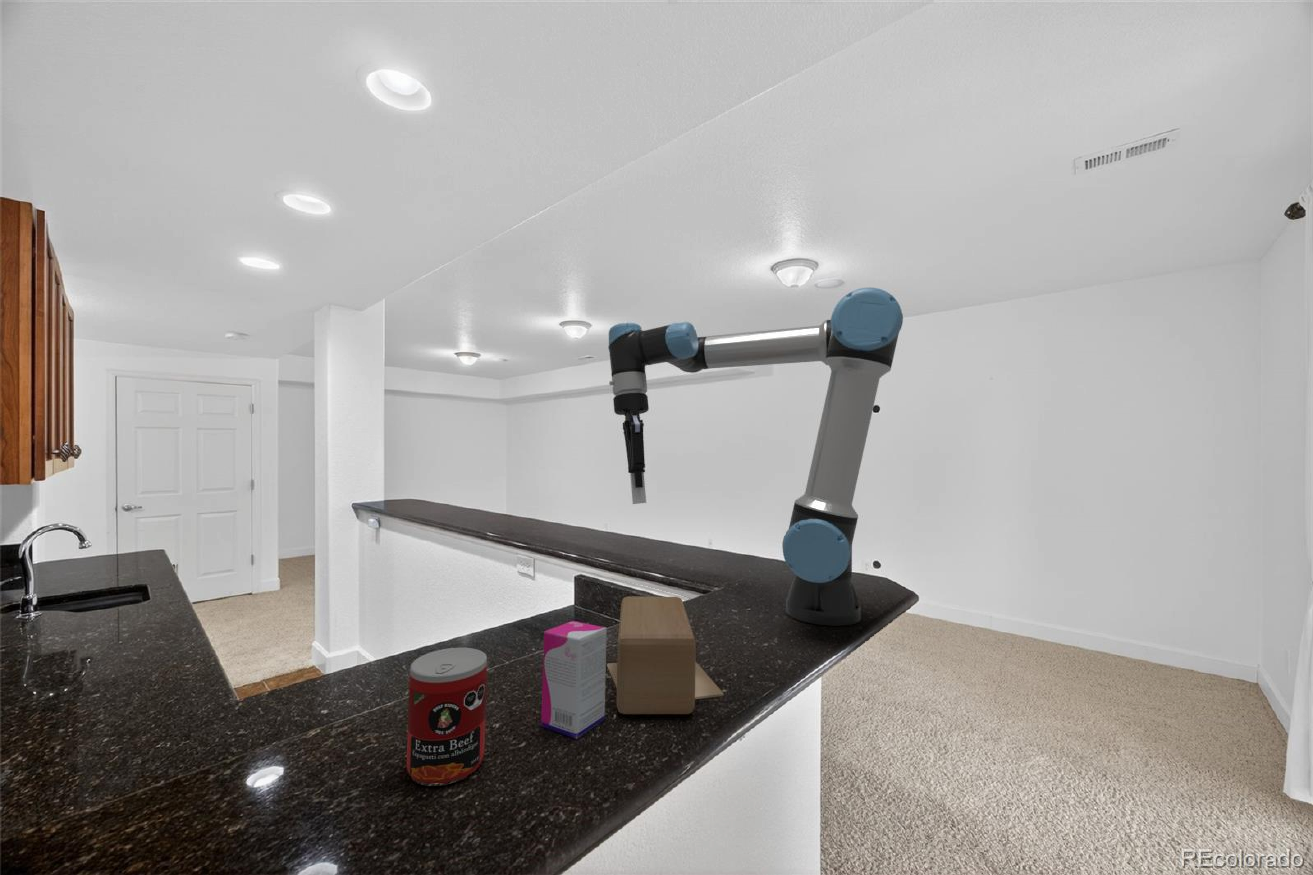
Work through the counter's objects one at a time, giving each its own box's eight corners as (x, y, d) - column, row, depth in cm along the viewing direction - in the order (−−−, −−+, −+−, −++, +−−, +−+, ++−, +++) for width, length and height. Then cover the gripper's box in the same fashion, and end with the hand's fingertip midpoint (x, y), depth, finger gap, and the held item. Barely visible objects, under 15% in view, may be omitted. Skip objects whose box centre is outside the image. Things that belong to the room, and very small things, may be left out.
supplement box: (606, 718, 66) (608, 626, 67) (576, 740, 61) (578, 640, 62) (570, 707, 69) (572, 618, 70) (539, 726, 64) (541, 631, 64)
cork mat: (691, 658, 87) (691, 656, 87) (723, 696, 73) (723, 693, 73) (606, 665, 83) (606, 663, 83) (624, 706, 69) (624, 704, 69)
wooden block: (681, 656, 86) (695, 717, 66) (620, 656, 86) (616, 717, 66) (682, 595, 87) (696, 637, 67) (621, 594, 86) (617, 636, 66)
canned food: (399, 795, 51) (403, 679, 51) (413, 750, 58) (416, 650, 59) (483, 782, 53) (486, 671, 53) (485, 741, 61) (488, 644, 61)
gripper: (610, 401, 121) (618, 505, 118) (616, 389, 108) (626, 504, 105) (642, 400, 122) (651, 502, 119) (652, 387, 109) (662, 501, 107)
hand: (639, 503), depth 112 cm, fingers closed
